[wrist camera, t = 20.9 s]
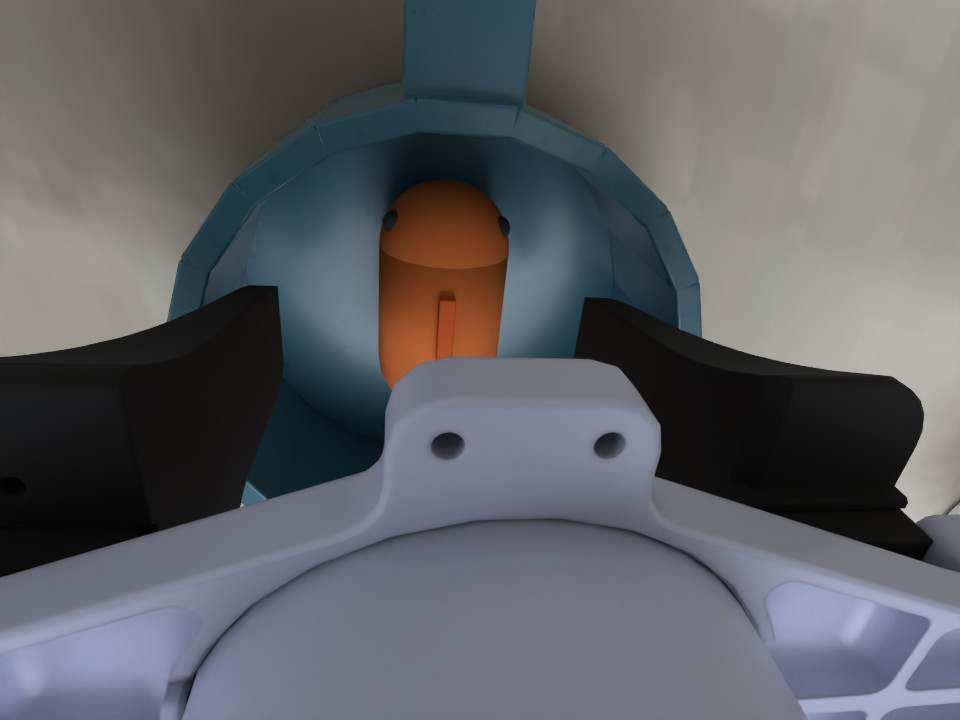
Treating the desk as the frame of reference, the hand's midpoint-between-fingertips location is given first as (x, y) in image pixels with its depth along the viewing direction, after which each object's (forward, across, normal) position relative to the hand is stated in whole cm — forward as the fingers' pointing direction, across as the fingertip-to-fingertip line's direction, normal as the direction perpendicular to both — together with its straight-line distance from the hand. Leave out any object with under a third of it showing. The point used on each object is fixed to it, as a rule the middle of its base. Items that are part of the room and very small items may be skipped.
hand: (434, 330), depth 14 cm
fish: (+4, 0, 0) cm, 4 cm away
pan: (+5, 0, +1) cm, 5 cm away
